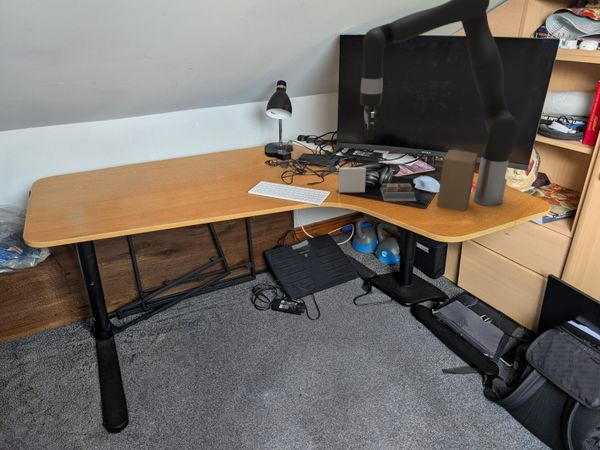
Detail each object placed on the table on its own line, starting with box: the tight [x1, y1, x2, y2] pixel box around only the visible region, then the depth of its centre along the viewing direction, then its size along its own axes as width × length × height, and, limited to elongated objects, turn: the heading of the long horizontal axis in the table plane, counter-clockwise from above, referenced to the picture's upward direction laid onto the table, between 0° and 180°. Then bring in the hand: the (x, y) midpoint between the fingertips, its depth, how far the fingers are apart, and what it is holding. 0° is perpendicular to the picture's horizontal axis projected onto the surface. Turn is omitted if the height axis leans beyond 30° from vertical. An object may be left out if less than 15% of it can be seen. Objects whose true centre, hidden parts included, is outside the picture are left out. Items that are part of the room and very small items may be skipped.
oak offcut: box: [386, 185, 398, 192], centre depth 173 cm, size 4×2×4 cm, turn 88°
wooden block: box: [436, 149, 478, 212], centre depth 163 cm, size 10×10×20 cm
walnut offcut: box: [399, 185, 413, 192], centre depth 173 cm, size 4×2×4 cm, turn 88°
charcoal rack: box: [380, 183, 417, 202], centre depth 175 cm, size 12×12×4 cm
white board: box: [338, 166, 367, 193], centre depth 176 cm, size 10×2×11 cm, turn 88°
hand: (368, 135), depth 167 cm, fingers open, 8 cm apart
